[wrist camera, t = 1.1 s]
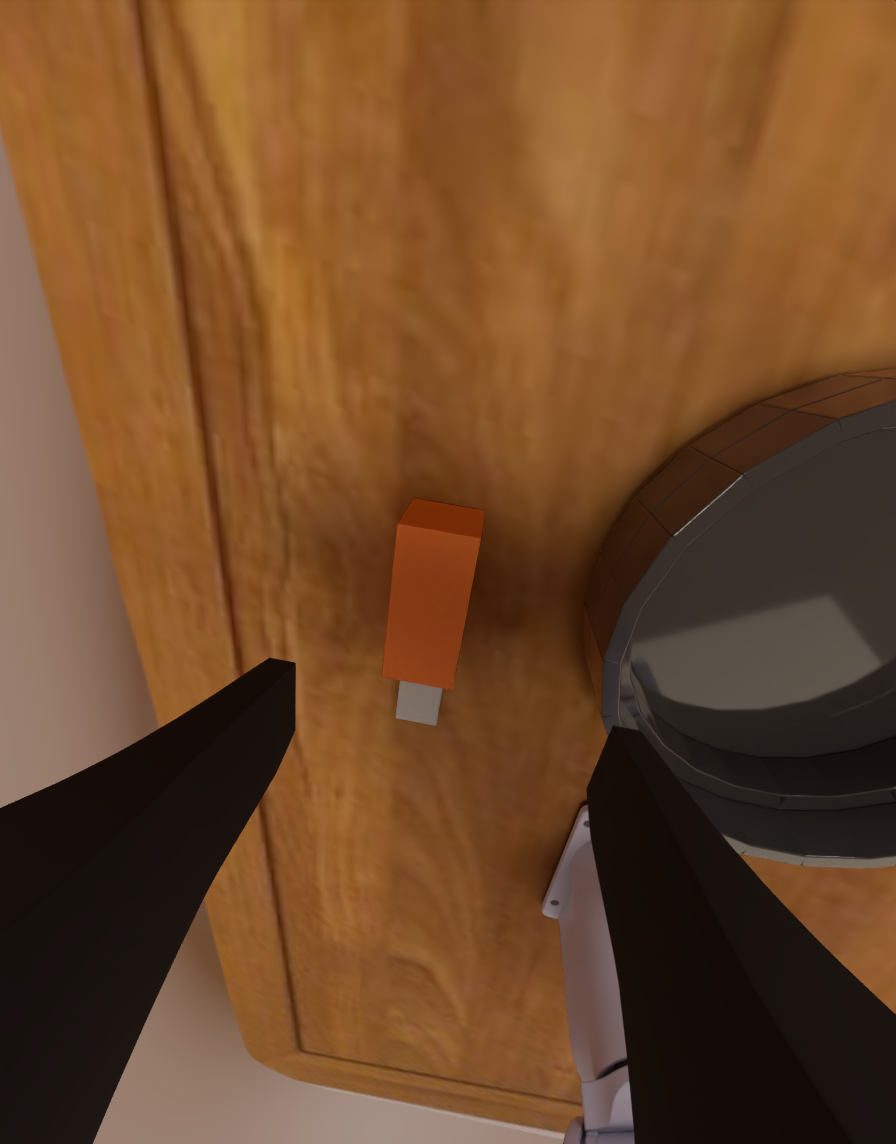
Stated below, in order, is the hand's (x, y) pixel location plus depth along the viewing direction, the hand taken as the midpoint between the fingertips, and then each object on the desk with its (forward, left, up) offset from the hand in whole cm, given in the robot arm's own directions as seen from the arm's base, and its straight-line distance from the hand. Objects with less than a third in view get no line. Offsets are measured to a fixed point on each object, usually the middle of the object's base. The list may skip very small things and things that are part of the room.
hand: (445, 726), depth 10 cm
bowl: (+1, -13, -9) cm, 16 cm away
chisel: (-3, +1, -9) cm, 10 cm away
